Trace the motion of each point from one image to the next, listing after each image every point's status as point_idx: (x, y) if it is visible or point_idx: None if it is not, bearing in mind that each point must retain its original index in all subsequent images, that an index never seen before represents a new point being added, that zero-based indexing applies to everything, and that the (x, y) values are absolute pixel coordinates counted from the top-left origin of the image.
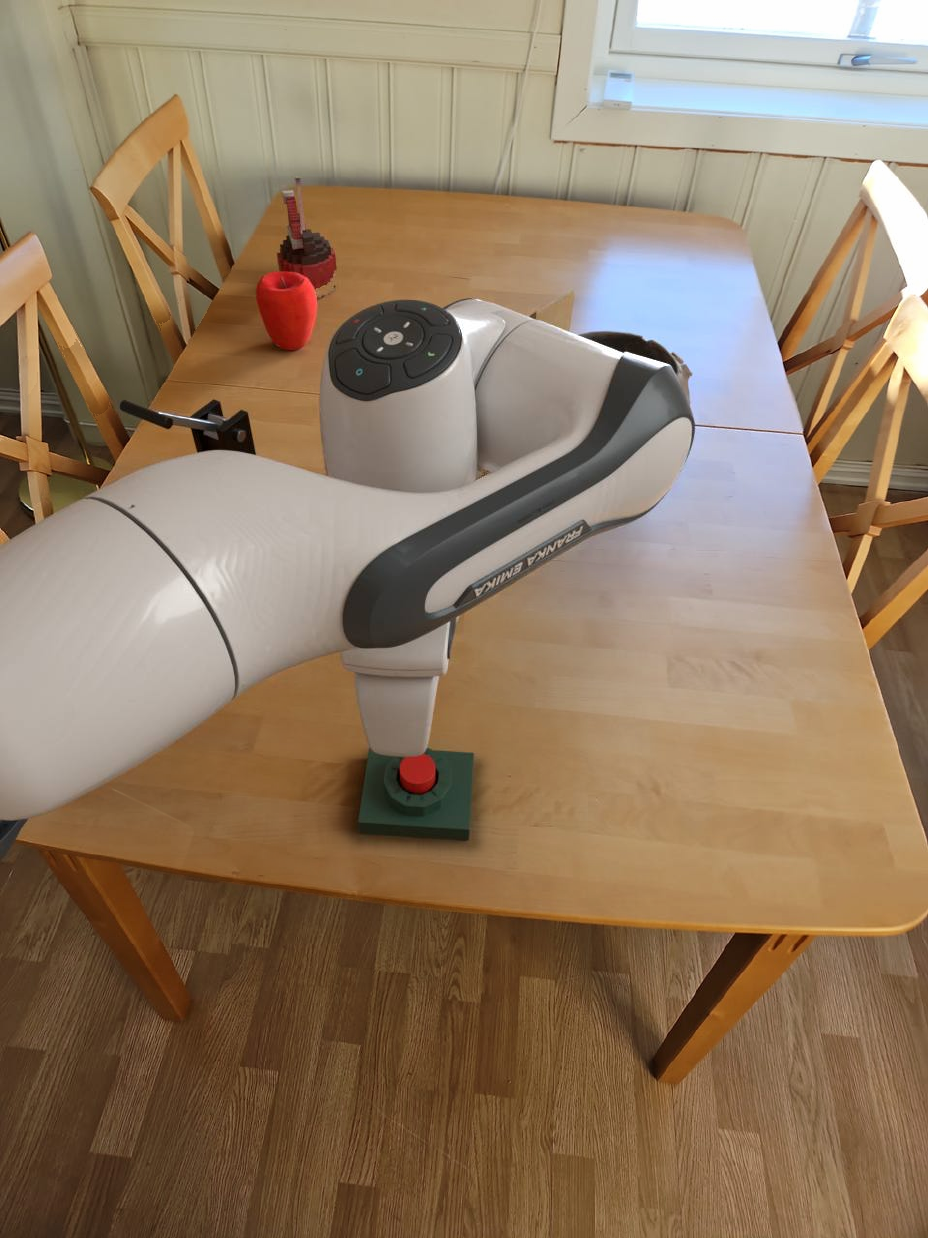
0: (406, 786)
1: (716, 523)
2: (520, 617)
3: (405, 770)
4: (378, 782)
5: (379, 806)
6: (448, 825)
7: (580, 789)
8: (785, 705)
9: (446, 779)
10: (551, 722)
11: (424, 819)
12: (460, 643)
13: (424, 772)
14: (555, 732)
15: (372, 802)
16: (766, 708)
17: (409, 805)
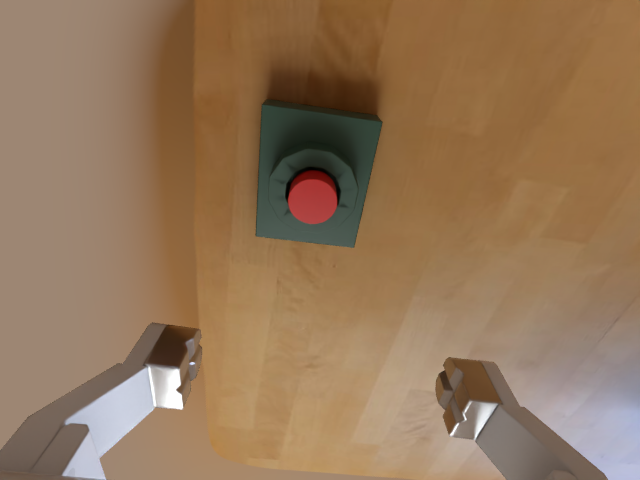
0: (294, 181)
1: (576, 444)
2: (538, 296)
3: (309, 187)
4: (321, 134)
5: (285, 134)
6: (259, 215)
7: (314, 319)
8: (376, 442)
9: (306, 227)
10: (392, 306)
11: (267, 190)
12: (527, 233)
13: (305, 210)
14: (379, 308)
15: (291, 125)
16: (376, 433)
17: (269, 182)
